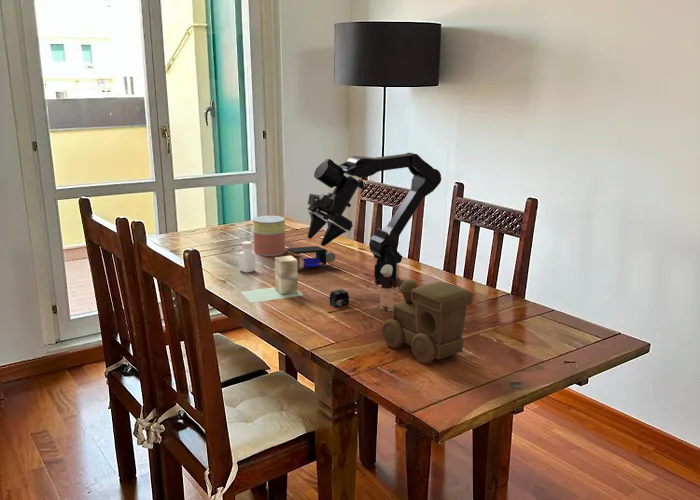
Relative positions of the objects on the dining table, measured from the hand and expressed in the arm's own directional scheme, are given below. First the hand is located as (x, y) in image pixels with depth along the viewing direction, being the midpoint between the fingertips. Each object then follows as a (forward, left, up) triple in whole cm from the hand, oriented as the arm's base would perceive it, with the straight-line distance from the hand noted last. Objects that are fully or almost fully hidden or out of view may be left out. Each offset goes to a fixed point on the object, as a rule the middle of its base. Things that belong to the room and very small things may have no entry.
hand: (315, 241), depth 190 cm
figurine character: (+7, -21, -15) cm, 27 cm away
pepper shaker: (+25, -13, -15) cm, 32 cm away
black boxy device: (-10, +12, -16) cm, 22 cm away
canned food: (+25, -37, -15) cm, 48 cm away
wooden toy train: (-35, +37, -15) cm, 53 cm away
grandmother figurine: (-22, +11, -15) cm, 29 cm away
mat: (+11, +8, -15) cm, 20 cm away
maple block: (+8, +5, -14) cm, 17 cm away
